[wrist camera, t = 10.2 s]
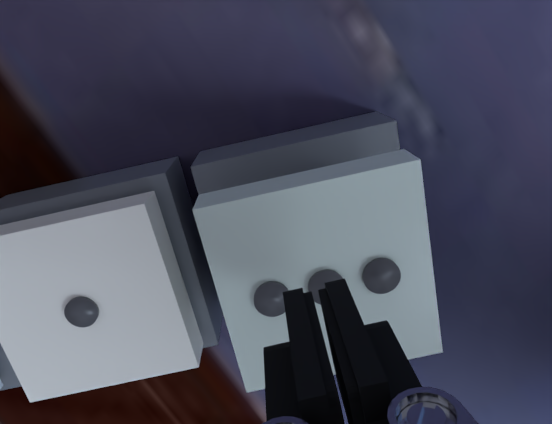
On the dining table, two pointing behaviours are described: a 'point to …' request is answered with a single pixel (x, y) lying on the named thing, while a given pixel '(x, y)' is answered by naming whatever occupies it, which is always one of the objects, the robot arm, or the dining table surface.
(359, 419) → the robot arm
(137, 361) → the tile one
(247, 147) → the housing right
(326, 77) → the dining table surface
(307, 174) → the tile three
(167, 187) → the housing middle
